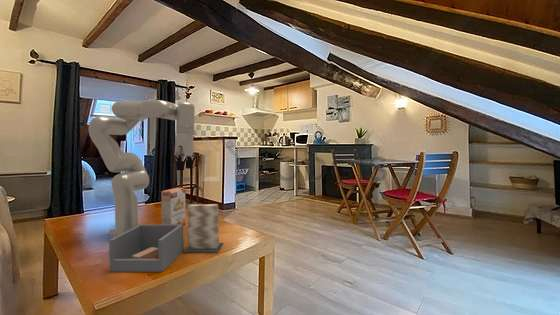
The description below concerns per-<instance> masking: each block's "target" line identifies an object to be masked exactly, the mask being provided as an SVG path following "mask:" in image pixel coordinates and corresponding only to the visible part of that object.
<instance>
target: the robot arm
mask: <svg viewBox="0 0 560 315" xmlns="http://www.w3.org/2000/svg"><path fill="white" fill-rule="evenodd" d="M195 107H196V106H195V105H194V104H193V103H192V102H185V101H184V102H183V101H182V102H179V103H173V102H172V101H171V102H170V101H167V100H166V101H165V100H161V99H144V100H118V101H117V100H116V101H115V102H114V103H113V104H112V105H111V112H112V114H113V115H114V116H115V117H114V116H104V115H102V116H101V115H99V116H96V117H93V118H91V120H90V122H89V124H88V135H89V137H90V139H91V141H92V142H93V144H94V145H95V147H96V148H97V149H98V152H99V155H100V156H101V158H102V160H103V162H104V165H105V166H106V168H107V169H108V171H109V172H111V173H118V174H116V175H114V177H113V178H112V180H111V183H110V184H111V190H112V193H113V199H114V218H115V219H114V222H115V223H114V225H115V226H114V227H115V229H109V230H108V233H107V234H108V236H112V238H111V239H113V238H115V237H117V236H118V235H120V234H122V233H124V232H126V231H128V230H130V229H132V228H134V227H136V226H138V225H139V202H138V201H139V200H138V197H137V195H136V193H135V192H136V191H141V190H145V189H146V188H147V187H148V186H149V184H150V176H149V174H148V172H147V169H146V168H145V166H144V164H143V163H142V160H141V158H140V157H139V156H138V155H137V154H136V153H134V152H123V150H122V149H121V147H120V146H119V144H118V142H117V141H116V140H115V139H114V138H113V137H112V135H115V136H124V135H127V134H128V133H130V132H131V131H132V130H133V129H134V128H135V127H136V126H137V125H138V124H139V123H140V122H141V121H143V120H147V119H149V118H158V119H159V118H160V119H166V120H170V121H176V123H175V124H176V126H175V128H176V129H175V131H176V136H175V143H174V144H175V145H174V156H175V160H176V167H175V170H176V171H180V172H181V171H185V169H187V170H188V169H191V170H192V169H193V167H194V152H195V151H194V135H195V119H196V118H195V114H196V113H195V111H196V110H195ZM185 158H186V159H185Z"/></svg>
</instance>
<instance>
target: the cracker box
mask: <svg viewBox="0 0 560 315" xmlns="http://www.w3.org/2000/svg"><path fill="white" fill-rule="evenodd" d="M160 193H161V225H183V226H185V225H186V187H175V188H171V189H170V188H169V189H165V190H162V191H161V192H160Z"/></svg>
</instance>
